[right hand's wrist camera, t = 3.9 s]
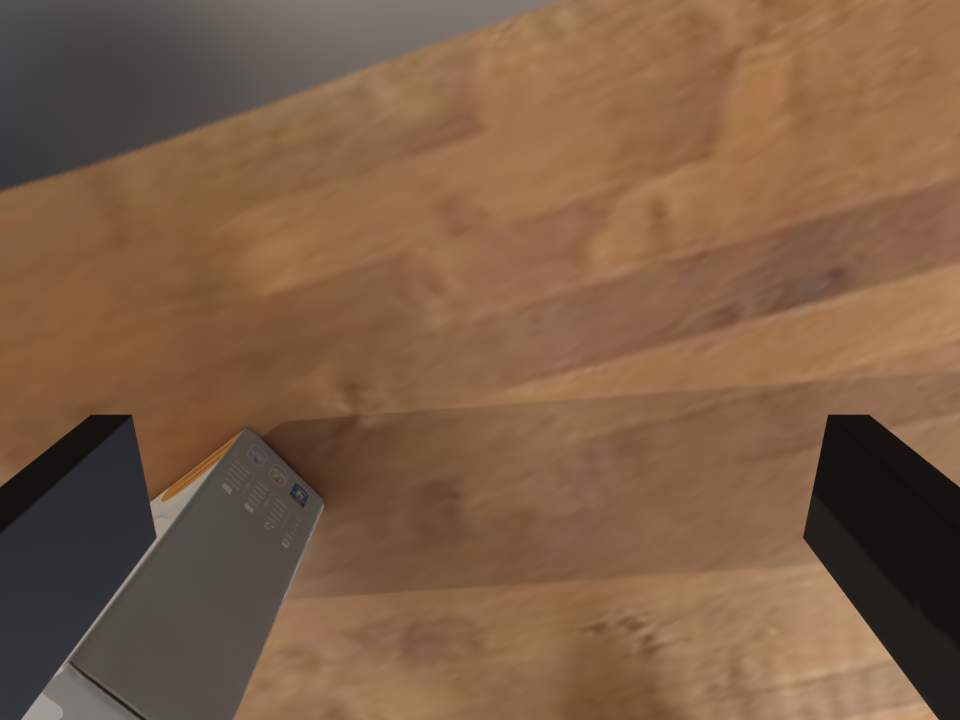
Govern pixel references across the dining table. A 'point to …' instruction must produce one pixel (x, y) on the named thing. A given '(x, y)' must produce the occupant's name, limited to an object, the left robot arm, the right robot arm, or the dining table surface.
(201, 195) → the dining table surface
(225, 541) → the hard drive box
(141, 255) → the dining table surface
